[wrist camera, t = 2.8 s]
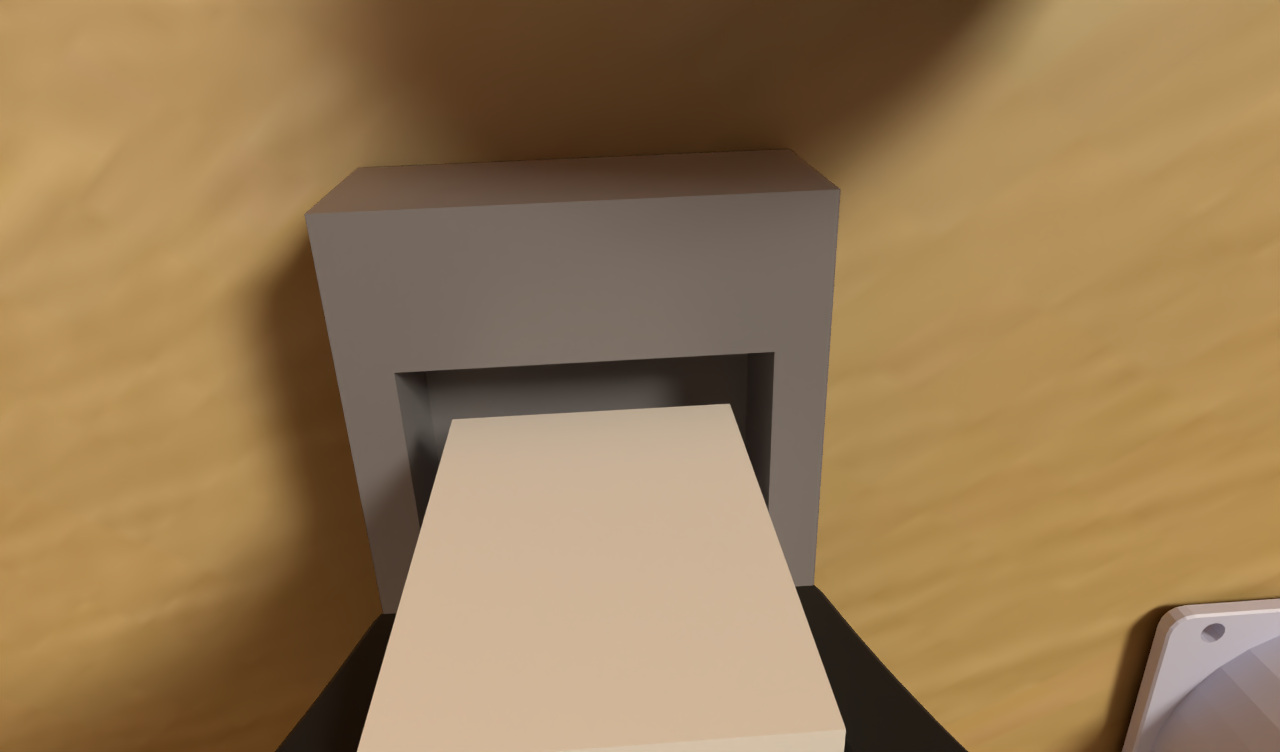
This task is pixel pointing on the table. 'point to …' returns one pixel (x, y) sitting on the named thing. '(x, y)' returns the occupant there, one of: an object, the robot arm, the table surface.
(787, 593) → the block
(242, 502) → the table surface
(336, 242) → the power strip
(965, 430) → the table surface
